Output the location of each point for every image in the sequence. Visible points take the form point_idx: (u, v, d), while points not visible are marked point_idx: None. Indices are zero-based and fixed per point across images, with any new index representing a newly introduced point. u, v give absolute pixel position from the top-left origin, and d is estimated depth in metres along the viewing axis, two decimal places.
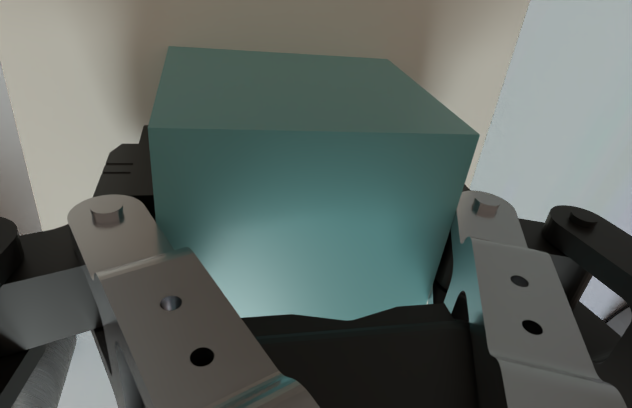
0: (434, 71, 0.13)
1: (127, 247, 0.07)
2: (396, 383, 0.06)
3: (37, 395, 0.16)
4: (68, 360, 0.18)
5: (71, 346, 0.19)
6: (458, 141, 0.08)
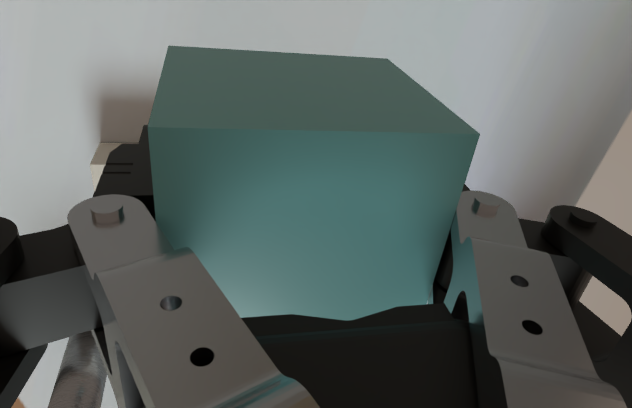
0: None
1: (127, 247, 0.07)
2: (396, 383, 0.05)
3: None
4: None
5: None
6: (458, 141, 0.08)
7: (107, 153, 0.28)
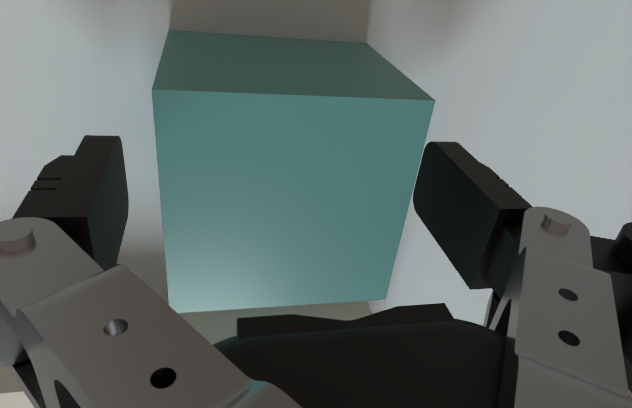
0: None
1: (26, 281, 0.06)
2: (396, 383, 0.05)
3: None
4: None
5: None
6: (416, 106, 0.10)
7: None
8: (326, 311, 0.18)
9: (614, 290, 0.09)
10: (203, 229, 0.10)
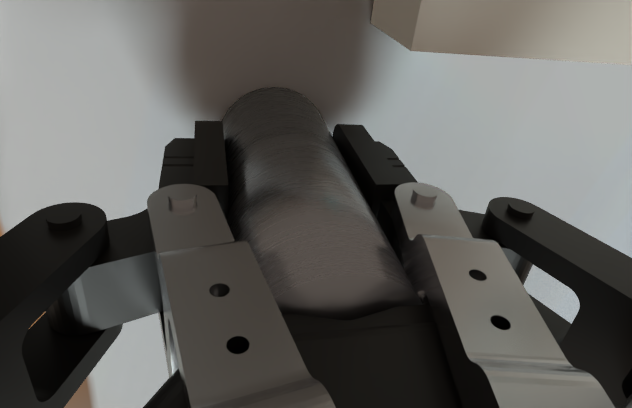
0: None
1: (208, 231, 0.07)
2: (396, 383, 0.06)
3: (344, 161, 0.11)
4: None
5: None
6: None
7: None
8: None
9: None
10: None
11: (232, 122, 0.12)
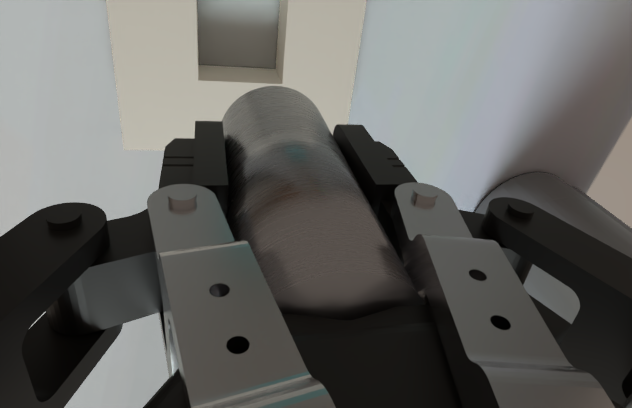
0: None
1: (208, 231, 0.07)
2: (396, 383, 0.06)
3: (344, 159, 0.11)
4: None
5: None
6: None
7: None
8: None
9: None
10: None
11: (232, 120, 0.12)
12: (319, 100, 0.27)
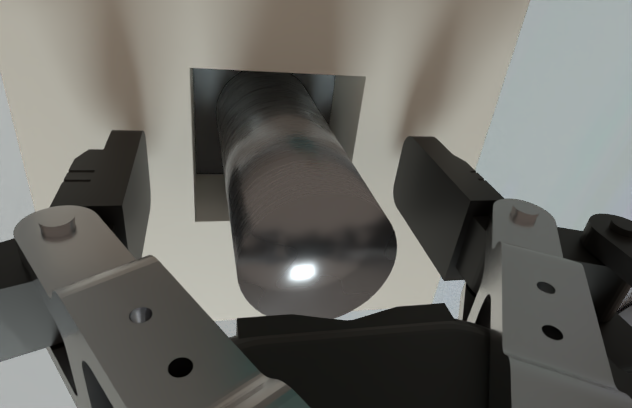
0: (434, 71, 0.13)
1: (73, 263, 0.07)
2: (396, 383, 0.05)
3: (327, 124, 0.12)
4: None
5: None
6: None
7: None
8: None
9: None
10: None
11: (228, 95, 0.14)
12: (402, 238, 0.16)
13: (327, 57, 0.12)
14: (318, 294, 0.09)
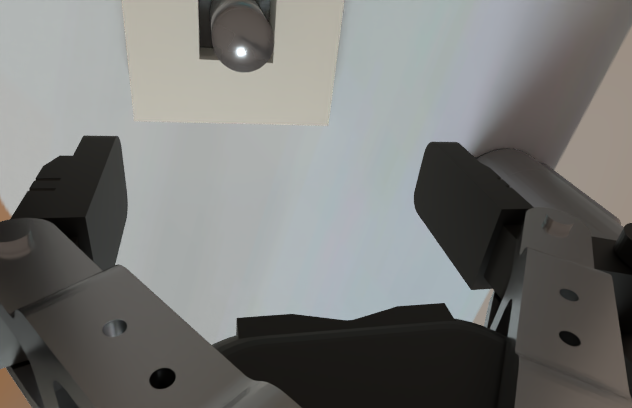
0: None
1: (24, 281, 0.06)
2: (396, 383, 0.06)
3: None
4: None
5: None
6: None
7: None
8: None
9: (616, 290, 0.09)
10: None
11: None
12: (306, 78, 0.31)
13: None
14: (244, 57, 0.24)
